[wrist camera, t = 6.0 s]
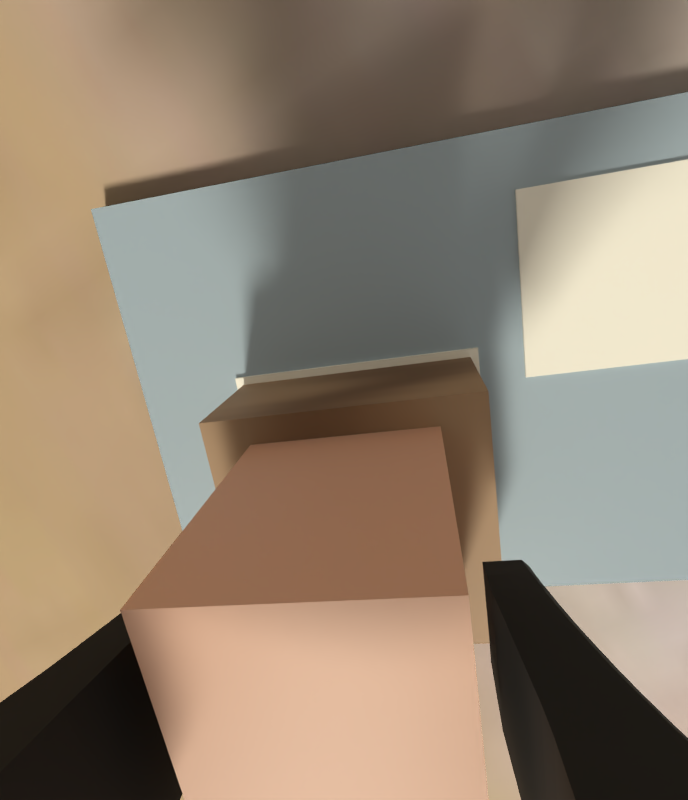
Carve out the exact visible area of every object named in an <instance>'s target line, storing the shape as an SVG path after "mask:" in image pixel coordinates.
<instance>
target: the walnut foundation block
mask: <svg viewBox="0 0 688 800" xmlns="http://www.w3.org/2000/svg"><path fill="white" fill-rule="evenodd" d="M437 426H441V431H442V437H443V443H444V449H445V455H446V461H447V467H448V473H449V479H450V485H451V491H452V497H453V503H454V509H455V516H456V522H457V528H458V534H459V540H460V546H461V552H462V558H463V564H464V570H465V576H466V582H467V588H468V594H469V603H470V613H471V623H472V633H473V644H480V643H490V641H489V630H488V619H487V608H486V597H485V586H484V575H483V563H482V562H489V561H502V560H501V547H500V534H499V521H498V508H497V495H496V482H495V469H494V456H493V443H492V430H491V417H490V404H489V391H488V389H487V387H486V385H485V384H484V382H483V380H482V378H481V376H480V374H479V372H478V370H477V368H476V366H475V365H474V363H473V361H472V359H471V357H466V358H458V359H449V360H441V361H433V362H425V363H417V364H409V365H401V366H393V367H385V368H376V369H368V370H360V371H352V372H344V373H336V374H328V375H320V376H312V377H303V378H295V379H287V380H279V381H271V382H263V383H255V384H247V385H243V386H242V387H241V388H239V389H238V390H237V391H236V392H235V393H234V394H232V395H231V396H230V397H229V398H228V399H227V400H225V401H224V402H223V403H222V404H221V405H220V406H218V407H217V408H216V409H215V410H214V411H213V412H211V413H210V414H209V415H208V416H207V417H206V418H204V419H203V420H202V421H201V422H200V423H199V427H200V430H201V434H202V438H203V442H204V446H205V450H206V454H207V458H208V462H209V466H210V470H211V473H212V477H213V481H214V485H215V489H216V488H217V487H218V485H219V484H220V483H221V482H222V480H223V479H224V478H225V477H226V475H227V474H228V473H229V471H230V470H231V469H232V468H233V466H234V465H235V464H236V463H237V461H238V460H239V459H240V458H241V456H242V455H243V454H244V452H245V451H246V450H247V449H248V447H249V446H250V445H255V444H265V443H275V442H285V441H295V440H306V439H316V438H326V437H336V436H346V435H356V434H366V433H376V432H387V431H397V430H407V429H417V428H427V427H437Z"/></svg>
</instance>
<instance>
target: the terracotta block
mask: <svg viewBox="0 0 688 800" xmlns="http://www.w3.org/2000/svg"><path fill="white" fill-rule="evenodd" d="M120 611H121V614H122V617H123V620H124V623H125V626H126V629H127V632H128V635H129V638H130V641H131V644H132V647H133V649H134V652H135V655H136V658H137V661H138V664H139V667H140V670H141V673H142V676H143V679H144V682H145V685H146V688H147V691H148V694H149V697H150V699H151V702H152V705H153V708H154V711H155V714H156V717H157V720H158V723H159V726H160V729H161V732H162V735H163V738H164V741H165V744H166V747H167V750H168V752H169V755H170V758H171V761H172V764H173V767H174V770H175V773H176V776H177V779H178V782H179V785H180V788H181V791H182V794H183V797H184V800H489V797H488V787H487V777H486V767H485V756H484V746H483V736H482V726H481V715H480V705H479V695H478V685H477V674H476V664H475V654H474V644H473V633H472V623H471V613H470V603H469V594H468V588H467V582H466V576H465V570H464V564H463V558H462V552H461V546H460V540H459V534H458V528H457V522H456V516H455V509H454V503H453V497H452V491H451V485H450V479H449V473H448V467H447V461H446V455H445V449H444V443H443V437H442V431H441V426H437V427H427V428H417V429H407V430H397V431H387V432H376V433H366V434H356V435H346V436H336V437H326V438H316V439H306V440H295V441H285V442H275V443H265V444H255V445H250V446H249V447H248V449H247V450H246V451H245V452H244V454H243V455H242V456H241V458H240V459H239V460H238V461H237V463H236V464H235V465H234V466H233V468H232V469H231V470H230V471H229V473H228V474H227V475H226V477H225V478H224V479H223V480H222V482H221V483H220V484H219V485H218V487H217V488H216V489H215V490H214V492H213V493H212V494H211V496H210V497H209V498H208V499H207V501H206V502H205V503H204V504H203V506H202V507H201V508H200V510H199V511H198V512H197V513H196V515H195V516H194V517H193V518H192V520H191V521H190V522H189V523H188V525H187V526H186V527H185V529H184V530H183V531H182V532H181V534H180V535H179V536H178V537H177V539H176V540H175V541H174V542H173V544H172V545H171V546H170V548H169V549H168V550H167V551H166V553H165V554H164V555H163V556H162V558H161V559H160V560H159V561H158V563H157V564H156V565H155V567H154V568H153V569H152V570H151V572H150V573H149V574H148V575H147V577H146V578H145V579H144V581H143V582H142V583H141V584H140V586H139V587H138V588H137V589H136V591H135V592H134V593H133V594H132V596H131V597H130V598H129V600H128V601H127V602H126V603H125V605H124V606H123V607H122V608H121V610H120Z"/></svg>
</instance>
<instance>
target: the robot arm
mask: <svg viewBox="0 0 688 800" xmlns="http://www.w3.org/2000/svg"><path fill="white" fill-rule="evenodd" d="M482 563H483V575H484V586H485V597H486V608H487V619H488V630H489V641H490V653H491V663H492V669H493V675H494V681H495V687H496V693H497V699H498V704H499V710H500V716H501V722H502V727H503V732H504V736H505V740H506V744H507V747H508V751H509V755H510V759H511V763H512V766H513V770H514V774H515V778H516V781H517V785H518V789H519V793H520V797H521V800H688V738H687V737H686V736H685V735H684V734H683V733H682V732H681V731H680V730H679V729H677V728H676V727H675V726H674V725H673V724H672V723H671V722H670V721H669V720H668V719H667V718H666V717H665V716H664V715H663V714H662V713H661V712H660V711H659V710H658V709H657V708H656V707H655V706H654V705H653V704H652V703H651V702H650V701H649V700H648V699H647V698H646V697H645V696H644V695H642V694H641V693H640V692H639V691H638V690H637V689H636V687H635V686H634V685H633V684H632V683H631V682H630V681H629V680H628V679H627V678H626V677H625V676H624V675H623V674H622V673H621V672H620V671H619V670H618V669H617V668H616V667H615V666H614V665H613V664H612V663H611V662H610V660H609V659H608V658H607V657H606V656H605V655H604V654H603V653H602V652H601V651H600V650H599V649H598V648H597V647H596V645H595V644H594V643H593V642H592V641H591V640H590V639H589V638H588V637H587V636H586V635H585V634H584V632H583V631H582V630H581V629H580V628H579V627H578V626H577V625H576V623H575V622H574V621H573V620H572V619H571V618H570V617H569V615H568V614H567V613H566V612H565V611H564V609H563V608H562V607H561V606H560V605H559V604H558V602H557V601H556V600H555V599H554V598H553V596H552V595H551V594H550V593H549V591H548V590H547V589H546V588H545V586H544V585H543V584H542V583H541V581H540V580H539V579H538V577H537V576H536V575H535V573H534V572H533V571H532V569H531V568H530V567H529V565H527V564H526V563H525V562H524V561H522V560H507V561H489V562H482ZM181 796H182V791H181V788H180V785H179V782H178V779H177V776H176V773H175V770H174V767H173V764H172V761H171V758H170V755H169V752H168V750H167V747H166V744H165V741H164V738H163V735H162V732H161V729H160V726H159V723H158V720H157V717H156V714H155V711H154V708H153V705H152V702H151V699H150V697H149V694H148V691H147V688H146V685H145V682H144V679H143V676H142V673H141V670H140V667H139V664H138V661H137V658H136V655H135V652H134V649H133V647H132V644H131V641H130V638H129V635H128V632H127V629H126V626H125V623H124V620H123V617H122V614H119V615H118V616H117V617H115V618H114V619H113V620H111V621H110V622H109V623H107V624H106V625H105V626H103V627H102V628H101V629H100V630H98V631H97V632H96V633H94V634H93V635H92V636H90V637H89V638H88V639H86V640H85V641H84V642H82V643H81V644H80V645H78V646H77V647H76V648H75V649H73V650H72V651H71V652H69V653H68V654H67V655H65V656H64V657H63V658H61V659H60V660H59V661H57V662H56V663H55V664H53V665H52V666H51V667H49V668H48V669H47V670H45V671H44V672H42V673H41V674H40V675H38V676H37V677H35V678H34V679H33V680H31V681H30V682H28V683H27V684H26V685H24V686H23V687H21V688H20V689H19V690H17V691H16V692H14V693H13V694H12V695H10V696H9V697H7V698H6V699H5V700H3V701H2V702H1V703H0V800H180V798H181Z"/></svg>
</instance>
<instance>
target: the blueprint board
mask: <svg viewBox="0 0 688 800" xmlns="http://www.w3.org/2000/svg"><path fill="white" fill-rule="evenodd" d="M91 211H92V215H93V218H94V222H95V225H96V229H97V232H98V236H99V239H100V243H101V246H102V250H103V253H104V257H105V260H106V264H107V267H108V271H109V274H110V278H111V281H112V285H113V288H114V292H115V295H116V299H117V302H118V306H119V309H120V313H121V316H122V320H123V323H124V327H125V330H126V334H127V337H128V341H129V344H130V348H131V351H132V355H133V358H134V362H135V366H136V369H137V373H138V376H139V380H140V383H141V387H142V390H143V394H144V397H145V401H146V404H147V408H148V411H149V415H150V418H151V422H152V425H153V429H154V432H155V436H156V439H157V443H158V446H159V450H160V453H161V457H162V460H163V464H164V467H165V471H166V474H167V478H168V481H169V485H170V488H171V492H172V495H173V499H174V502H175V506H176V509H177V513H178V516H179V520H180V523H181V527H182V530H184V529H185V527H186V526H187V525H188V523H189V522H190V521H191V520H192V518H193V517H194V516H195V515H196V513H197V512H198V511H199V510H200V508H201V507H202V506H203V504H204V503H205V502H206V501H207V499H208V498H209V497H210V496H211V494H212V493H213V492H214V490H215V485H214V481H213V477H212V473H211V470H210V466H209V462H208V458H207V454H206V450H205V446H204V442H203V438H202V434H201V430H200V427H199V423H200V422H201V421H202V420H203V419H204V418H206V417H207V416H208V415H209V414H210V413H211V412H213V411H214V410H215V409H216V408H217V407H218V406H220V405H221V404H222V403H223V402H224V401H225V400H227V399H228V398H229V397H230V396H231V395H232V394H234V393H235V392H236V391H237V390H238V389H239V388H241V387H242V386H243V385H247V384H255V383H263V382H271V381H279V380H287V379H295V378H303V377H312V376H320V375H328V374H336V373H344V372H352V371H360V370H368V369H376V368H385V367H393V366H401V365H409V364H417V363H425V362H433V361H441V360H449V359H458V358H466V357H471V359H472V361H473V363H474V365H475V366H476V368H477V370H478V372H479V374H480V376H481V378H482V380H483V382H484V384H485V385H486V387H487V389H488V391H489V404H490V417H491V430H492V443H493V456H494V469H495V482H496V495H497V508H498V521H499V534H500V547H501V560H502V561H507V560H522V561H524V562H525V563H526V564H527V565H529V567H530V568H531V569H532V571H533V572H534V573H535V575H536V576H537V577H538V579H539V580H540V581H541V583H542V584H543V585H544V586H564V585H585V584H607V583H629V582H650V581H672V580H688V92H685V93H680V94H675V95H670V96H665V97H660V98H655V99H649V100H644V101H639V102H634V103H629V104H624V105H619V106H614V107H609V108H604V109H599V110H594V111H588V112H583V113H578V114H573V115H568V116H563V117H558V118H553V119H548V120H543V121H538V122H533V123H528V124H522V125H517V126H512V127H507V128H502V129H497V130H492V131H487V132H482V133H477V134H472V135H467V136H461V137H456V138H451V139H446V140H441V141H436V142H431V143H426V144H421V145H416V146H411V147H406V148H400V149H395V150H390V151H385V152H380V153H375V154H370V155H365V156H360V157H355V158H350V159H345V160H340V161H334V162H329V163H324V164H319V165H314V166H309V167H304V168H299V169H294V170H289V171H284V172H279V173H273V174H268V175H263V176H258V177H253V178H248V179H243V180H238V181H233V182H228V183H223V184H218V185H212V186H207V187H202V188H197V189H192V190H187V191H182V192H177V193H172V194H167V195H162V196H157V197H151V198H146V199H141V200H136V201H131V202H126V203H121V204H116V205H111V206H106V207H101V208H96V209H91Z"/></svg>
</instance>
